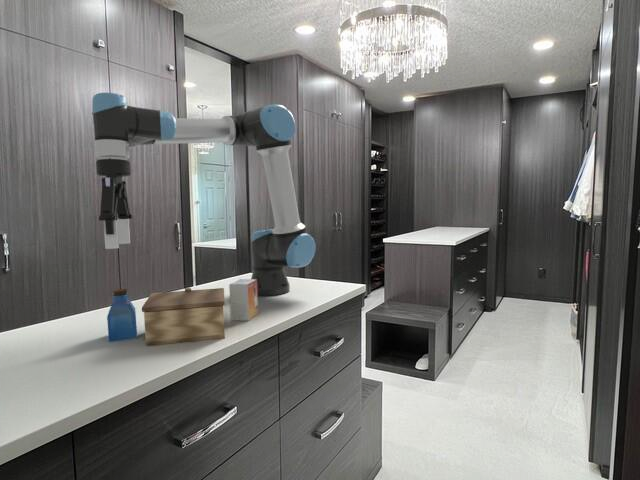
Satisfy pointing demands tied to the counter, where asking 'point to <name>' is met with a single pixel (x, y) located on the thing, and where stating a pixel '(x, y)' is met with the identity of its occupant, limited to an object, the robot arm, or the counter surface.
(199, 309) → the box
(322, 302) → the counter surface
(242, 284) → the small box
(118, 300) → the perfume bottle
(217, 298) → the lid
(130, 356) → the counter surface
